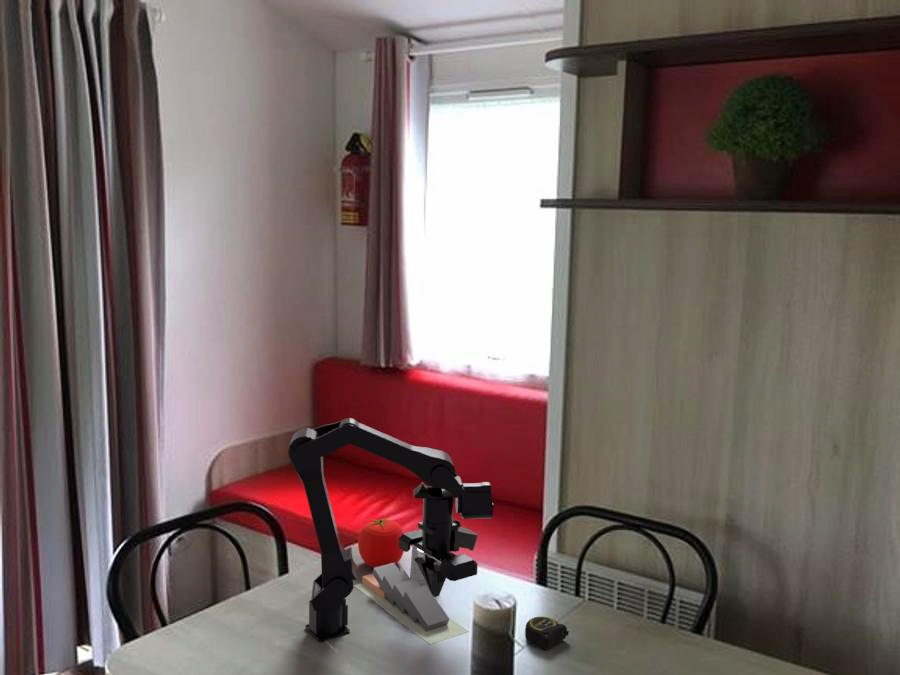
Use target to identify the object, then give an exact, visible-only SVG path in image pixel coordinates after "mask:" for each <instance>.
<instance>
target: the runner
mask: <svg viewBox="0 0 900 675" xmlns="http://www.w3.org/2000/svg"><path fill="white" fill-rule="evenodd" d="M353 587H356V589H358V590H359V591H360V592H362V593H363V594H364V595H366V597H368V598H369V599H371V600H372V601H373V602H374V603H376V604H377V605H378V606H380V607H381V608H382V609H383V610H385V611H386V612H387V613H388V614H390V615H391V616H393V617H394V618H395V619H396V620H397V621H399V622H400V623H402V624H403V625H404V626H405V627H406V628H408V629H409V630H411V631H412V632H413V633H414V634H415V635H417V636H418V637H419V638H421V639H422V640H423V641H424V642H426V643H427V644H428V645H429V646H431V645H433V644H436V643H439V642H442V641H445V640H448V639H450V638H454V637H456V636H460V635H462V634H466V633H469V630H468V629H466V628H465V627H464V626H462V625H461V624H460V623H457V622H456V621H455V620H453V619H452V618H451V617H449V622H448V624H447V625H445V626H442V627H439V628H436V629H433V630H429V631H425V629H424V628H423V626H422V625H421V623H420V622H417V623H414V621H413V620H412V618H411V617H410V615H409V614H408V613H405V614H403V613H402V612H401V610H400V609H399V607H398V605H397V604H395V605H392V604H391V603H390V601H389V600H388V599H382V598H381V597H380V596H378V595H377V594H376V593H375V592H373V591H372V590H371V589H369V588H368V587H367V586H365V585H364V584H363V583H357V584H354V585H353Z"/></svg>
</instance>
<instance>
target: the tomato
mask: <svg viewBox="0 0 900 675" xmlns="http://www.w3.org/2000/svg"><path fill="white" fill-rule="evenodd" d="M370 520H372V521H370V522H368V523H366V524H364V525H363V526H362V528H361V529H360V532H359V534H358V539H357V548H358V553H359V555H360V557H361V559H362V560H363V562H364V563H365V564H366V565H367V566H369V567H370V568H373V569H374V568H375V567H379V566H383V565H387V564H391V563H395V565H396V564H398V563H399V562H400V561H401V559H402V558H403V555H404V553H405V551H403V550H402V549H400V548H399V538H400V537H401V535H402V534H403V533H404V532H403V529H402V527H401V525H400V524H399V523H398V522H397V521H395V520H393V519H392V520H391V519H387V517H385V518H382V519H372V518H370Z"/></svg>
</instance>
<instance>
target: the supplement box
mask: <svg viewBox="0 0 900 675" xmlns="http://www.w3.org/2000/svg"><path fill="white" fill-rule="evenodd" d="M415 530H416V529H414V530H413V531H415ZM417 549H418V547H416V546H414V545H411V558H410V559H411V560H410V561H411V562H410V569H409V570H410V573H409V578H410V579H415V578H416V580H417V581H418V583H419V584H420V586H421V587H422V586H427V587H428V585H427V583H426V581H425V579H424V576H423V574H422V572H421V570H420V569H419V567H418V565H417V563H416V562H415V560H414V559H415V558H417V557H418V551H416V550H417ZM428 589H429V587H428ZM429 590H430V589H429Z"/></svg>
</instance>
